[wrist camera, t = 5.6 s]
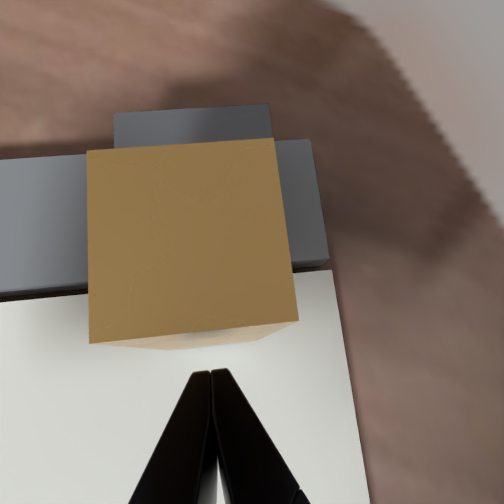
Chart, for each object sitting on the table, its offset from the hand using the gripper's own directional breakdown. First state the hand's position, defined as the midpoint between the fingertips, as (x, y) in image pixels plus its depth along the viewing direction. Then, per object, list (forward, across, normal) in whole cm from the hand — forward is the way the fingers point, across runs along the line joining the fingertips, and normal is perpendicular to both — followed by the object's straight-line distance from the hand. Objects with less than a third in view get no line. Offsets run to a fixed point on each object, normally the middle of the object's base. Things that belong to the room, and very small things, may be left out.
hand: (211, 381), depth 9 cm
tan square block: (+7, 0, +1) cm, 7 cm away
